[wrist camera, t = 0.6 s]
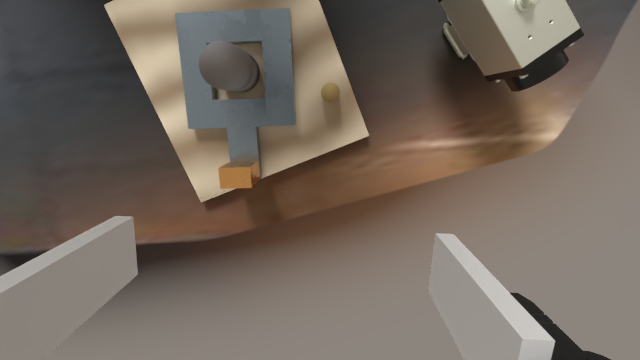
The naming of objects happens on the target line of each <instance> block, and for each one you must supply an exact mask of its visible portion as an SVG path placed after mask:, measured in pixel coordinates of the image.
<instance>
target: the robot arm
mask: <svg viewBox="0 0 640 360" xmlns="http://www.w3.org/2000/svg"><path fill="white" fill-rule="evenodd" d="M137 275H138V271H137V258H136V246H135V233H134V221H133V217H129V216H114V217H112V218H111V219H109V220H107V221H105V222H103V223H101V224H99V225H97V226H95V227H93V228H92V229H90V230H88V231H86V232H84V233H82V234H80V235H78V236H76V237H74V238H73V239H71V240H69V241H67V242H65V243H63V244H61V245H59V246H57V247H55V248H53V249H52V250H50V251H48V252H46V253H44V254H42V255H40V256H38V257H36V258H34V259H33V260H31V261H29V262H27V263H25V264H23V265H21V266H19V267H17V268H15V269H14V270H12V271H10V272H8V273H6V274H4V275H2V276H0V360H42V359H44V358H45V357H46V356H47V355H48V354H49V353H50V352H51V351H52V350H53V349H55V348H56V347H57V346H58V345H59V344H60V343H61V342H62V341H64V340H65V339H66V338H67V337H68V336H69V335H70V334H72V333H73V332H74V331H75V330H76V329H77V328H78V327H79V326H80V325H81V324H83V323H84V322H85V321H86V320H87V319H88V318H89V317H91V316H92V315H93V314H94V313H95V312H96V311H97V310H98V309H100V307H102V306H103V305H104V304H105V303H106V302H107V301H109V300H110V299H111V298H112V297H113V296H114V295H115V294H116V293H117V292H119V291H120V290H121V289H122V288H123V287H124V286H125V285H126V284H128V283H129V282H130V281H131V280H132V279H133V278H134V277H135V276H137ZM428 292H429V294H430V296H431V298H432V300H433V302H434V303H435V305H436V307H437V309H438V311H439V313H440V315H441V317H442V319H443V320H444V322H445V324H446V326H447V328H448V330H449V332H450V334H451V336H452V338H453V339H454V341H455V343H456V345H457V347H458V349H459V351H460V353H461V355H462V356H463V358H464V360H610V359H608V358H606V357H604V356H602V355H599V354H596V353H593V352H589V351H582V350H581V349H580V348H579V347H578V346H577V345H576V344H575V343H574V342H573V341H572V340H571V339H570V338H569V337H568V336H567V335H566V334H565V333H564V332H563V331H562V330H561V329H560V328H559V327H558V326H557V325H556V324H553V321H552V320H551V319H549V317H548V316H546V315H544V313H543V312H542V311H541V310H540V309H539V308H538V307H537V306H536V305H535V304H534V303H533V302H531V301H530V300H528V299H527V298H525V297H523V296H522V295H520V294H518V293H509V292H508V291H507V290H506V289H505V288H504V287H503V286H502V285H501V284H500V283H499V281H498V280H497V279H496V278H495V277H494V276H493V275H492V274H491V273H490V272H489V271H488V270H487V269H486V268H485V267H484V266H483V265H482V264H481V263H480V261H479V260H478V259H477V258H476V257H475V256H474V255H473V254H472V253H471V252H470V251H469V250H468V249H467V248H466V247H465V246H464V245H463V244H462V243H461V242H460V241H459V240H458V238H457V237H456V236H455V235H454V234H441V233H436V234H435V241H434V249H433V257H432V264H431V272H430V279H429V287H428Z"/></svg>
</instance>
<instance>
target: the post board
mask: <svg viewBox="0 0 640 360" xmlns="http://www.w3.org/2000/svg"><path fill="white" fill-rule="evenodd" d="M104 7H105V9H106V11H107V13H108V15H109V17H110V19H111V21H112V23H113V25H114V27H115V29H116V31H117V33H118V35H119V37H120V39H121V41H122V43H123V45H124V47H125V49H126V51H127V53H128V55H129V57H130V59H131V61H132V63H133V65H134V67H135V70H136V72H137V74H138V76H139V78H140V80H141V82H142V84H143V86H144V88H145V90H146V92H147V94H148V96H149V98H150V100H151V102H152V104H153V106H154V108H155V110H156V112H157V114H158V116H159V118H160V120H161V122H162V124H163V126H164V128H165V130H166V132H167V134H168V136H169V138H170V140H171V143H172V145H173V147H174V149H175V151H176V153H177V155H178V157H179V159H180V161H181V163H182V165H183V167H184V169H185V171H186V173H187V175H188V177H189V179H190V181H191V183H192V185H193V187H194V189H195V191H196V193H197V195H198V197H199V199H200V201H201V202H204V201H206V200H209V199H211V198H214V197H216V196H219V195H221V194H224V193H226V192H229V191H231V190H234V189H236V188H231V189H220V180H219V171H218V168H219V167H221V166H223V165H225V164H226V163H228V162H230V156H229V145H228V134H227V128H203V129H188V121H187V113H186V104H185V96H184V88H183V79H182V71H181V62H180V54H179V45H178V37H177V28H176V20H175V13H187V12H209V11H230V10H252V9H273V8H289V9H290V11H291V29H292V49H293V70H294V90H295V110H296V125H292V126H262V127H259V140H260V154H261V168H262V178H264V177H267V176H269V175H272V174H274V173H277V172H279V171H282V170H284V169H287V168H289V167H292V166H294V165H297V164H299V163H302V162H304V161H307V160H309V159H312V158H315V157H317V156H320V155H322V154H325V153H327V152H330V151H332V150H335V149H337V148H340V147H342V146H345V145H347V144H350V143H352V142H355V141H357V140H360V139H362V138H365V137H367V136H369V134H368V131H367V128H366V126H365V123H364V120H363V118H362V115H361V112H360V110H359V107H358V104H357V101H356V99H355V96H354V93H353V91H352V88H351V85H350V83H349V80H348V77H347V75H346V72H345V69H344V66H343V64H342V61H341V58H340V56H339V53H338V50H337V48H336V45H335V42H334V40H333V37H332V34H331V32H330V29H329V26H328V23H327V21H326V18H325V15H324V13H323V10H322V7H321V5H320V2H319V0H113V1H111V2H109V3H107V4H105V5H104ZM199 69H200V73H201V75H202V77H203V79H204V80H205V81H206V82H207V83H208V84H209V85H211V86H212V87H214V88H215V91H216V100H226V99H253V98H266V94H265V79H264V64H263V49H262V43H250V44H232V43H230V42H228V41H224V40H217V41H214V42H211V43H209V44H208V45H207V46H206V47H205V48H204V49H203V50H202V52H201V54H200V57H199ZM262 178H261V179H262Z"/></svg>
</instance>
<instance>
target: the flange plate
mask: <svg viewBox="0 0 640 360" xmlns="http://www.w3.org/2000/svg"><path fill="white" fill-rule="evenodd" d="M175 20H176V28H177V37H178V45H179V54H180V62H181V71H182V79H183V88H184V96H185V104H186V113H187V121H188V129H203V128H227V134H228V145H229V156H230V162H228V163H226V164H225V165H223V166H221V167H219V168H218V171H219V180H220V189H231V188H252V187H253V186H254V185H255V184H256V183H257V182H258V181H259V180H260V179H261V178H262V168H261V154H260V140H259V127H262V126H292V125H296V110H295V90H294V70H293V49H292V29H291V11H290V9H289V8H273V9H252V10H230V11H209V12H187V13H175ZM217 40H224V41H228V42H230V43H232V44H250V43H262V49H263V64H264V79H265V94H266V98H253V99H226V100H216V91H215V88H214V87H212V86H211V85H209V84H208V83H207V82H206V81H205V80H204V79H203V77H202V75H201V73H200V69H199V57H200V54H201V52H202V50H203V49H204V48H205V47H206V46H207V45H208V44H209V43H211V42H214V41H217Z"/></svg>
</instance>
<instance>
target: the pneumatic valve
mask: <svg viewBox="0 0 640 360" xmlns="http://www.w3.org/2000/svg"><path fill="white" fill-rule="evenodd" d="M438 1H439V3H440V4H441V6H442V8H443V9H444V11H445V13H446V14H447V18H448V20H449V22H450V23H451V26H450V25H449V23H445V24H443V28H444V31H443V33H444V34H445V36H446V38H447V39H448V41H449V42H450V44H451V46H452V47H453V49H454V50H455V52H456V54H457V55H458V57H462V59H464V58H465V57H467V56H468V54H470V56H471V57H472V59H473V60H474V61H475V62H476V63H477V65H478V66H479V68H480V70H481V71H482V73H483V75H484V76H485V78H486V79H487V81H494V80H495V81H496V83H497V82H500V81H501V80H502V79H504V80H505V81H506V83H507V85H508V86H509V88H510V89H511V91H513V92H516V91H521V90H524V89H527V88H529V87H532V86H534V85H536V84H538V83H540V82H542V81H544V80H546V79H547V78H549V77H551V76H552V75H554V74H555V73H557V72H558V71H560V70H561V69H562V68H563V67H564V66H565V65H566V64H567V63H568V61H569V59H568V57H567V55H566V53H565V51H564V50H563V49H565V48H567V47H570V46H572V45H573V44H574V42H575V41H576V40H578V39H579V38H581V37H582V36H584V33H583V32H582V30H581V28H580V26H579V24H578V22H577V21H576V19H575V17H574V15H573V13H572V11H571V10H570V8H569V6H568V4H567V2H566V0H438Z"/></svg>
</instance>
